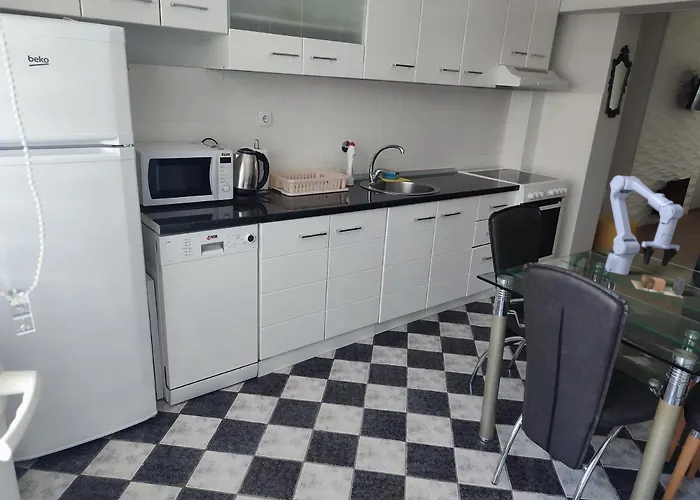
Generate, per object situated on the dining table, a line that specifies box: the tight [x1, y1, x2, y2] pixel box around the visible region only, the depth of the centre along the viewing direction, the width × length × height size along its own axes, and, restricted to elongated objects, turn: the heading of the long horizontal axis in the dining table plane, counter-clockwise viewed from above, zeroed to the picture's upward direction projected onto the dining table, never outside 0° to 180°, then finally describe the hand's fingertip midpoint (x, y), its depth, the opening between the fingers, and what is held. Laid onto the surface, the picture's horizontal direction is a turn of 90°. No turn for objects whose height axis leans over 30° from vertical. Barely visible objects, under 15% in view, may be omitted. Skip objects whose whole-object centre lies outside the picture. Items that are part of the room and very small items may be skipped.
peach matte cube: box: [651, 276, 667, 291], centre depth 201 cm, size 4×4×4 cm
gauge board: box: [630, 279, 684, 299], centre depth 202 cm, size 17×11×1 cm, turn 71°
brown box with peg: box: [640, 273, 654, 289], centre depth 201 cm, size 3×6×4 cm, turn 161°
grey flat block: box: [671, 275, 687, 297], centre depth 199 cm, size 2×6×7 cm, turn 161°
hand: (654, 264), depth 203 cm, fingers open, 7 cm apart
